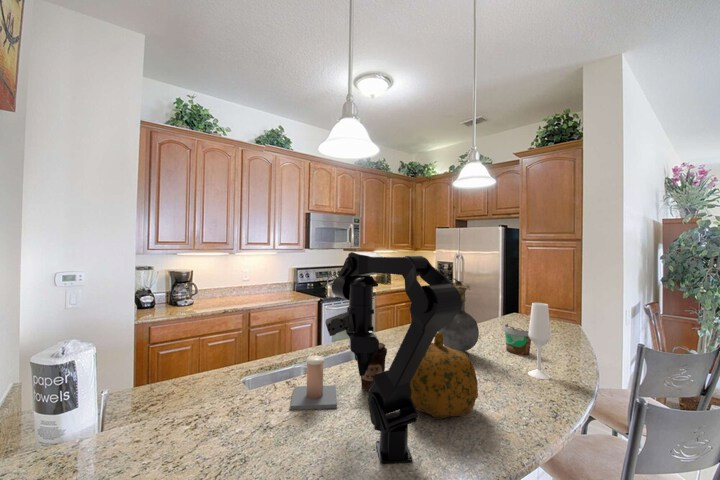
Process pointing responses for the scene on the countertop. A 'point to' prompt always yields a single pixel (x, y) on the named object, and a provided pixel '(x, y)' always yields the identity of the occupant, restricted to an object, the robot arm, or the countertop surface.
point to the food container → (517, 340)
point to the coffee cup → (374, 367)
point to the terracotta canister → (315, 377)
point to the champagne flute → (539, 334)
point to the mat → (304, 402)
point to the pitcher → (461, 326)
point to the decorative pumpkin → (444, 382)
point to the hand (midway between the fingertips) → (359, 367)
